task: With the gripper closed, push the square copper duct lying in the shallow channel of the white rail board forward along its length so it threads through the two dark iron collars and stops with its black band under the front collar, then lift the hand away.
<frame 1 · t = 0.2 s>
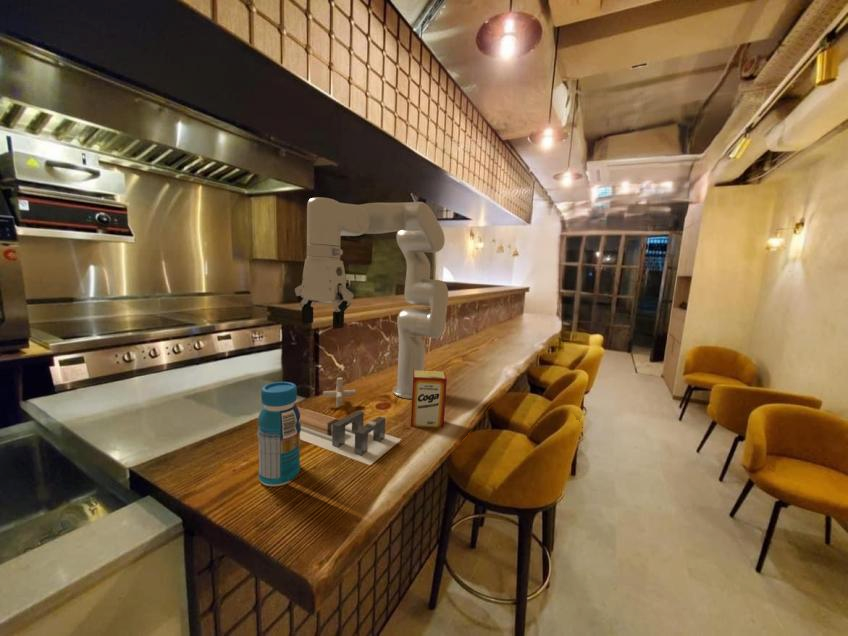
hand: (322, 325, 81), 31 cm above the countertop, tool pointing down, fingers open, 9 cm apart
rear collar: (348, 438, 87), resting on white rail board
white rail board: (333, 436, 90), on the countertop
pipe connector: (339, 408, 108), on the countertop
beverage bottle: (279, 476, 72), on the countertop
copper duct: (314, 426, 93), point 1 cm above the countertop, touching white rail board
front collar: (370, 445, 84), resting on white rail board
baking soda box: (426, 425, 100), on the countertop
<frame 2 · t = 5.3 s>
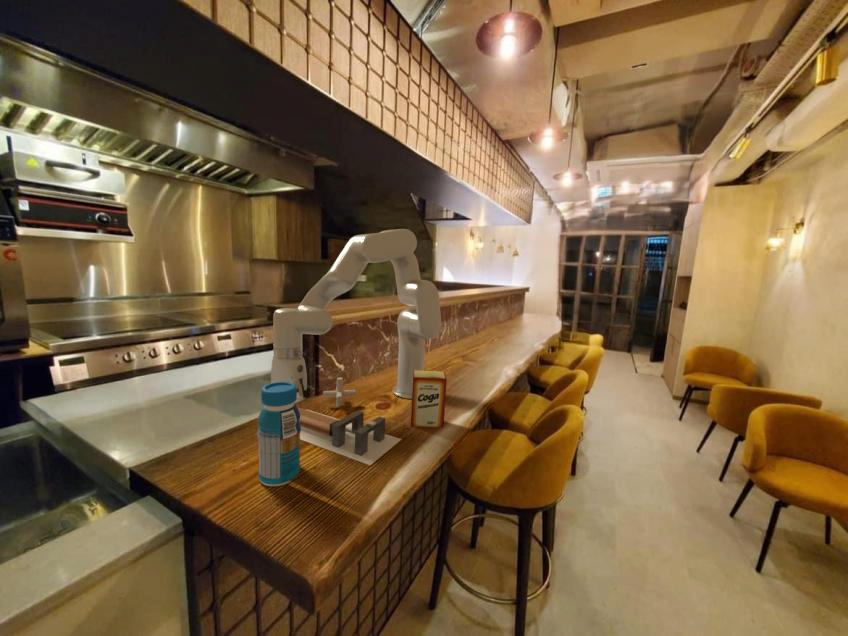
hand: (287, 413, 97), 2 cm above the countertop, tool pointing down, fingers closed
nothing on the countertop moved.
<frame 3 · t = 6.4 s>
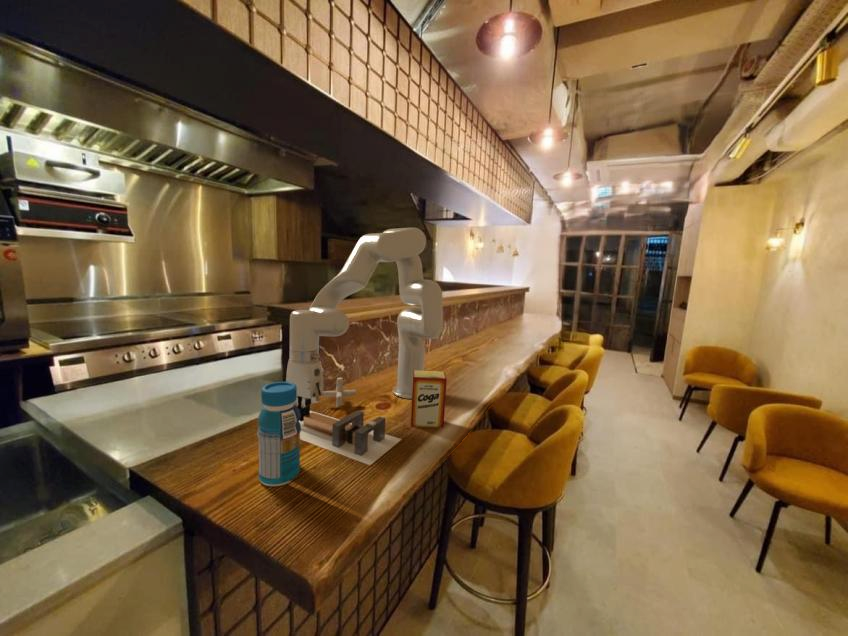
hand: (303, 418, 94), 2 cm above the countertop, tool pointing down, fingers closed
copper duct: (333, 433, 89), point 1 cm above the countertop, touching gripper, white rail board
everything else where it was.
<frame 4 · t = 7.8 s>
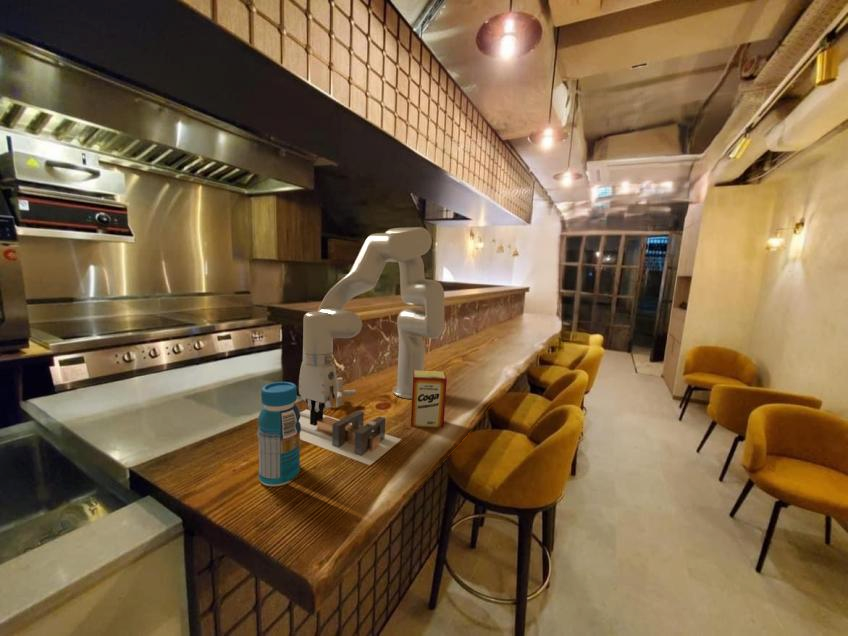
hand: (316, 423, 92), 2 cm above the countertop, tool pointing down, fingers closed
copper duct: (347, 438, 87), point 1 cm above the countertop, touching gripper, white rail board
everything else where it was.
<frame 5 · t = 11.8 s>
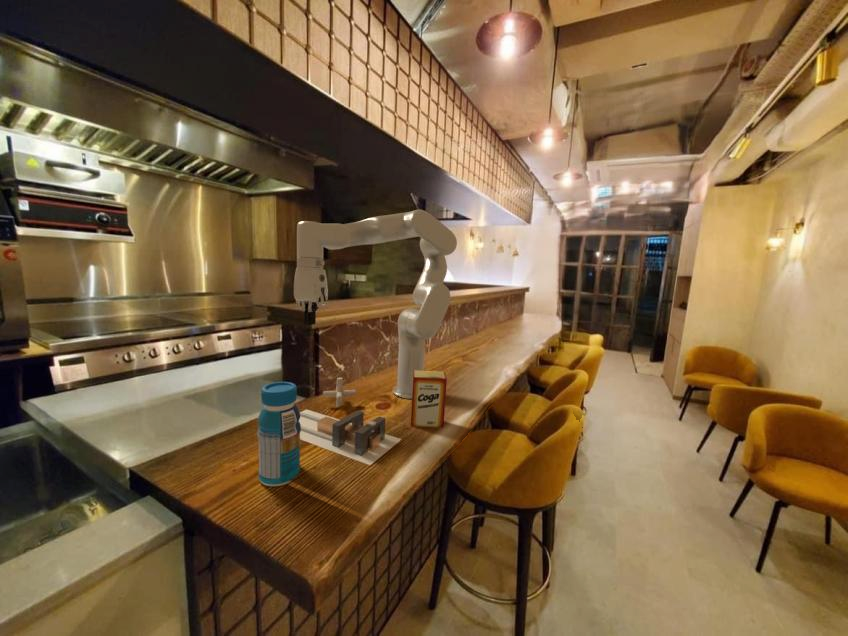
hand: (309, 324, 103), 27 cm above the countertop, tool pointing down, fingers closed
copper duct: (347, 438, 87), point 1 cm above the countertop, touching white rail board
everything else where it was.
at the end: copper duct 0.4 cm from the target spot, point 1.0 cm above the countertop; copper duct moved 12.1 cm from its start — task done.
